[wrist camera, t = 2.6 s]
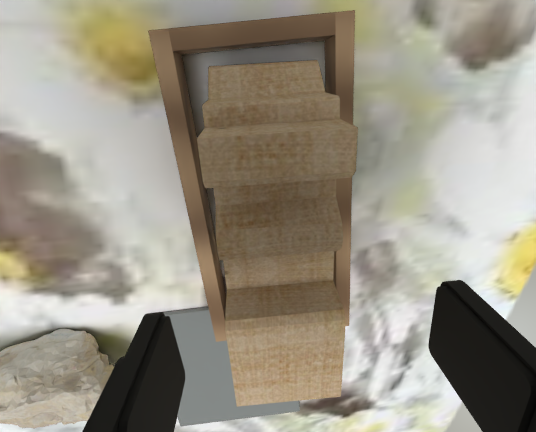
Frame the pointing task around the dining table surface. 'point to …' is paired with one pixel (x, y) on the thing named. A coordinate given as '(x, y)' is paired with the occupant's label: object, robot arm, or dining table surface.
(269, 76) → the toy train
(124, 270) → the dining table surface
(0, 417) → the stone
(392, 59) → the dining table surface
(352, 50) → the pocket frame
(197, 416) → the slate mat
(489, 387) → the robot arm
